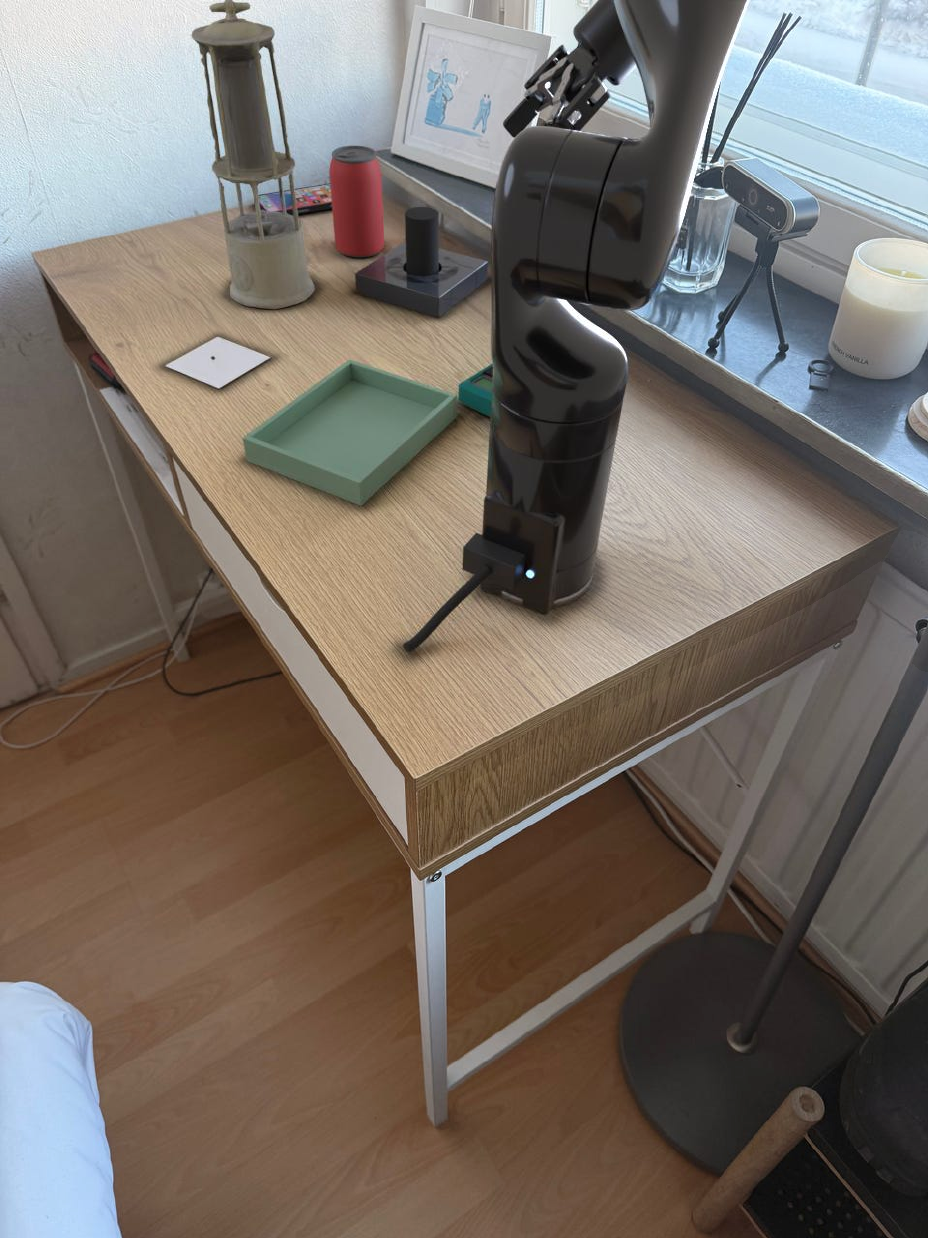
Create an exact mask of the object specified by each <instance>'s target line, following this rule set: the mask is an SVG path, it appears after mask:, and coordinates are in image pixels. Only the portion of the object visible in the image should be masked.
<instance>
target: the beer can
mask: <svg viewBox="0 0 928 1238" xmlns="http://www.w3.org/2000/svg"><path fill="white" fill-rule="evenodd" d="M377 155H378V154H377V152H376V150H374V149H373V148H371V147H369V146H365V145H343V146H340V147H337V148H335V149H334V150H333V151H332V152H331V156H332V157H331V161H330V164H329V169H328V171H329V172H328V173H329V183H330V186H331V199H332V208H331V211H332V223H333V234H334V245H335V249H336V250H337V251H338V252H339V253H340V254H343V255H344V256H347V257H350V258H369V257H373V256H375V255H377V254H378V253H380V252H382V250H384V249H383V248H384V247H385V229H384V228H385V227H384V204H383V181H382V180H383V178H382V170H381V166H380V165H381V164H380V162H379V160H378V157H377Z"/></svg>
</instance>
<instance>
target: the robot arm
mask: <svg viewBox="0 0 928 1238" xmlns="http://www.w3.org/2000/svg"><path fill="white" fill-rule="evenodd" d="M749 2H750V0H597V1H596V2H595V3H594V4H593V6H591V8H590V9H589V10H588V11H587V12H586V13H585V14H584V16H583V17H581V18H580V20H579V21H578V22H577V23H576V25H575V26H574V27H573V36H574V38H575V40H576V41H577V45H576V47H575V48H574V49H573V50H572V51H571V52H569V50H568V49H567V47H566V46H565V45H564V44H560V45H559V46H558V47H557V48H556V49H555V50H554V51H553V53H551V54H550V56H549V57H548V58H547V59H546V60H545V61H544V63H543V64H541V66H540V67H539V68H538V69H536V71H535V72H534V73H533V74H532V76H530V78H529V79H527V81H526V82H525V84H524V89H526V91H525V92H524V94H523V97H524V98H522V100H520V102H519V103H518V105H517V106H516V107H515V108H514V109H512V111H511V112H510V113H509V114H508V116H507V117H506V118H505V119H504V120H503V121H502V127H503V128H504V129H505V131H507V132H508V134H509V135H510V136H511V137H512V138H513V139H512V141H511V142H510V144H509V145H508V147H507V149H506V152H505V153H504V156H503V158H502V160H501V164H500V168H499V170H498V175H497V180H496V184H495V188H494V194H493V205H492V213H491V230H490V231H491V233H490V235H491V237H490V238H491V239H490V240H491V241H490V246H491V247H490V268H491V271H490V272H491V273H490V274H491V329H490V333H491V334H490V358H491V364H493V378H492V399H491V417H489V431H488V432H489V435H488V450H487V451H488V453H487V470H486V471H487V473H486V488H485V489H486V491H485V496H484V499H483V510H482V512H483V513H482V528H481V529H482V530H481V533H479V532H475V533H474V534H473V535H472V536H471V537H470V539H468V541H467V542H466V543H465V544H464V545H463V547H462V568H461V569H462V571H464V572H468V573H470V574H471V575H472V577H471V578H469V579H468V580H467V581H466V582H465V583H464V584H463V585H462V586H461V587H460V588H459V589H458V590H457V591H456V592H455V593H454V594H453V595H452V596H451V597H450V598H449V599H447V601H445V603H444V604H443V605H442V606H441V607H440V608H439V609H438V610H437V611H436V612H435V613H434V614H433V615H432V616H431V617H430V619H429V620H428V621H427V622H426V623H425V625H423V627H422V628H421V629H420V630H419V631H418V632H417V633H416V634H415V635H413V637H411V638H410V639H409V640H408V641H406V642H404V643H403V644H402V646H403V649H404V650H405V652H407V653H411V652H413V651H415V650H416V649H418V648H419V647H420V646H421V645H422V644H423V643H424V642H425V641H427V640H428V639H429V637H430V636H431V635H432V634H433V633H434V632H435V630H436V629H437V628H438V627H439V626H440V625H441V624H442V623H443V622H444V620H445V619H446V618H448V616H449V615H450V614H451V613H452V612H454V610H455V609H456V608H457V607H458V606H460V604H461V603H462V602H464V600H465V599H466V598H467V597H468V596H469V595H470V594H472V593H473V592H474V591H475V590H476V589H477V588H478V587H479V589H480V590H482V591H484V592H488V593H490V594H492V595H493V596H496V597H498V598H501V599H504V600H505V601H508V602H510V603H513V604H514V605H518V606H520V607H523V608H526V609H527V610H531V611H532V612H535V613H538V614H540V615H543V616H547V615H548V614H550V612H551V610H553V609H554V608H557V607H561V606H565V605H568V604H570V603H572V602H575V601H576V600H578V599H579V598H581V597H582V596H583V595H584V594H586V593H587V591H589V588H590V587H591V585H592V583H593V580H594V574H595V568H596V567H595V563H596V557H597V552H598V545H599V540H600V532H601V527H602V522H603V515H604V511H605V505H606V499H607V493H608V487H609V482H610V475H611V469H612V464H613V459H614V454H615V447H616V442H617V437H618V431H619V427H620V426H619V425H620V421H621V415H622V409H623V403H624V398H625V395H626V388H627V382H628V377H629V361H628V356H627V353H626V351H625V350H624V348H623V346H622V345H621V343H619V341H618V340H617V339H616V338H615V337H614V336H613V335H611V333H609V332H607V331H606V330H604V329H603V328H601V327H599V326H598V325H597V324H595V323H593V322H592V321H590V320H589V319H588V318H586V317H585V316H584V315H582V314H581V313H579V311H578V310H576V308H574V307H573V306H572V305H571V303H569V302H572V303H577V304H582V305H587V306H593V307H598V308H603V309H607V310H608V309H609V310H615V311H625V312H627V311H628V312H629V311H631V312H633V311H636V310H639V309H642V308H643V307H645V306H646V305H647V304H648V303H650V302H651V301H652V299H653V298H654V296H655V295H656V294H657V293H658V291H659V289H660V286H661V285H662V283H663V282H664V279H665V276H666V274H667V272H668V270H669V268H670V264H671V262H672V259H673V256H674V254H675V250H676V246H677V243H678V239H679V235H680V232H681V228H682V225H683V221H684V218H685V214H686V210H687V206H688V203H689V199H690V196H691V191H692V187H693V183H694V179H695V176H696V172H697V169H698V168H697V167H698V165H699V160H700V157H701V152H702V148H703V144H704V142H705V136H706V133H707V129H708V125H709V121H710V117H711V114H712V112H713V111H712V110H713V107H714V103H715V101H716V100H715V99H716V96H717V93H718V89H719V86H720V83H721V80H722V78H723V77H722V76H723V73H724V70H725V67H726V64H727V62H728V59H729V57H730V53H731V50H732V48H733V45H734V42H735V40H736V37H737V34H738V31H739V28H740V26H741V23H742V21H743V18H744V15H745V12H746V10H747V7H748V4H749ZM636 68H637V71H638V75H639V77H640V80H641V83H642V87H643V91H644V95H645V100H646V105H647V111H648V112H647V113H648V120H649V130H648V131H647V133H645V135H644V136H642V137H640V138H630V137H628V138H627V137H624V136H617V135H612V134H611V135H609V134H604V133H597V132H589V131H584V130H583V131H582V129H584V127H585V126H586V125H588V123H589V122H590V120H591V119H592V118H593V117H594V116H595V115H596V114H597V113H598V111H599V110H600V109H601V108H602V107H603V106H604V105H605V104H606V103H607V102H608V101H609V99H610V98H611V96H612V94H611V92H610V90H609V89H608V87H607V86H606V84H605V81H606V80H607V81H608V82H609V83H610V84H611V85H612V86H619V85H620V84H622V82H623V81H624V80H625V79H626V78H627V77H628V76H629V75H630V74H631V73H632V72H633V71H634V70H635V69H636ZM550 106H551V107H552V108H551V110H550V112H549V114H548V116H547V118H546V121H543V122H542V123H541V124H540V125H532V126H529V125H530V123H531V122H533V120H534V119H535V118H536V117H537V116H538V113H540V112H542V111H543V110H545V109H546V108H548V107H550ZM528 126H529V127H528Z"/></svg>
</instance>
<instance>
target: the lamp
mask: <svg viewBox="0 0 928 1238" xmlns="http://www.w3.org/2000/svg"><path fill="white" fill-rule="evenodd" d="M250 9H251V4H250V3H249V2H246V1H245V2H239V1H237V2H236V1H234V0H224V1H223V2H215V3H212V4H210V5H209V10H210V12H211V13H225V14H226V15H225V17H224V18H222V19H218V20H215V21H213V22H211V23H210V24H206V25H203V26H199V27H197V28H194V29H193V30H192V32H191V38H192V40H194V41H195V43H197V45H198V49H199V53H200V55H201V57H202V58H201V60H200V61H201V64H202V65H203V71H204V72H203V73H204V78H205V79H204V80H205V84H206V92H207V95H206V97H207V98H206V102H207V103H206V105H207V107H208V114H209V125H210V131H211V136H212V138H213V141H214V151H215V152H214V159H215V160H214V162H213V163H212V164H211V171H212V172H213V173H214V174H215V176H216V178H217V183H218V190H219V200H220V210H221V214H222V215H221V216H222V221H223V228H224V229H223V232H224V239H225V244H226V245H225V246H226V250H227V258H228V263H229V264H228V265H229V271H230V277H231V283H230V285H229V296H230V298H231V299H232V300H234V301H235V302H237V303H238V304H240V305H243V306H246V307H250V308H259V309H270V310H277V309H284V308H286V307H290V306H295V305H297V304H300V303H302V302H305V301H306V300H308V298H310V297H311V296H312V295H313V293H314V291H315V290H316V287H315V285H314V281H313V280H312V277H311V276H310V273H309V264H308V258H307V253H306V252H307V251H306V245H305V239H304V228H303V224H302V221H301V220H300V218H299V214H298V211H297V203H296V195H295V189H296V188H295V181H294V175H293V173H294V169H295V167H296V160H295V159H294V158H293V157H292V156H291V151H290V146H289V143H288V133H287V124H286V123H287V122H286V115H285V109H284V108H285V107H284V103H283V102H284V101H283V96H282V92H281V89H280V85H279V84H280V83H279V78H278V74H277V68H276V60H275V55H274V53H275V48H274V43H273V39H274V37H275V33H276V32H275V29H274V28H273V27H272V26H269V25H266V24H262V23H258V22H254V21H249V20H247V19H245V18H238V16H237V14H239V13H242V12H245V11H249V10H250ZM263 48H265V49H267V51H268V55H269V60H270V65H271V71H272V78H273V82H274V88H275V94H276V100H277V107H278V112H279V118H280V126H281V132H282V140H283V145H284V153H283V152H281V151H276V149H275V144H274V139H273V134H272V133H273V132H272V124H271V119H270V112H269V106H268V100H267V95H266V86H265V81H264V77H263V68H262V67H263V66H262V62H261V60H262V54H261V53H260V51H261V49H263ZM207 54H209V56H210V61H211V67H212V73H213V83H214V92H215V98H216V104H217V112H218V119H219V125H220V131H221V136H222V142H223V147H224V148H223V149H224V155H223V156H221V150H220V143H219V142H220V141H219V135H218V128H217V121H216V115H215V114H216V113H215V108H214V100H213V96H212V91H211V83H210V82H211V81H210V74H209V68H208V56H207ZM283 177H288V182H289V190H290V191H291V199H292V209H293V215H289V214H287V213H286V208H285V197H284V191H285V190H284V184H283V183H284V182H283V179H282V178H283ZM221 179H223V180H225V181H228V182H229V183H232V184H234V185H235V189H236V195H237V196H236V197H237V203H238V208H239V209H238V210H239V215H238V216H236V217H234V218H232V219H230V220H229V217H228V216H229V215H228V210H227V209H228V208H227V204H226V197H225V185H223V182H222V181H221ZM271 180H275V181H276V180H277V182H278V183H277V184H278V192H279V191H280V198H281V207H282V212H273V211H265V210H260V204H259V196H258V195H259V188H258V186H259V184H260V185H261V184H263V183H265V182H269V181H271ZM241 184H244V185H249V186H250V188H251V191H252V195H253V202H254V201H255V203H254V207H255V211H253V212H248V213H245V212H244V204H243V203H244V201H243V195H242V194H243V193H242V189H241Z"/></svg>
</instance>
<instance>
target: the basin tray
mask: <svg viewBox="0 0 928 1238" xmlns="http://www.w3.org/2000/svg"><path fill="white" fill-rule="evenodd" d="M457 417H458V394H456V393H453V392H450V391H447V390H444V389H440V388H438V387H435V386H432V385H429V384H425V383H422V382H420V381H416V380H413V379H411V378H408V377H404V376H401V375H398V374H396V373H393V372H389V371H386V370H383V369H380V368H377V367H374V366H371V365H368V364H365V363H362V362H359V361H357V360H353V359H347V360H346V361H345V362H343V363H342V364H341V365H339V366H337V367H336V368H335V369H334V370H332V371H331V372H330V373H329V374H327V375H325V376H324V377H323V378H321V379H320V380H319V381H318V382H316V383H315V384H314V385H312V386H311V387H310V388H308V389H307V390H306V391H304V392H303V393H301V394H300V395H299V396H297V397H296V398H295V399H293V400H292V401H291V402H289V403H288V404H287V405H285V406H284V407H282V408H281V409H280V410H278V411H277V412H276V413H274V414H273V415H272V416H270V417H269V418H268V419H266V420H265V421H264V422H262V423H261V424H260V425H258V426H257V427H255V428H254V429H253V430H251V431H250V432H249V433H247V434H246V435H245V436H243V437H242V443H243V447H244V454H245V460H246V461H247V462H248V463H250V464H254V465H256V466H259V467H261V468H263V469H266V470H269V471H271V472H274V473H277V474H279V475H282V476H283V477H287V478H289V479H291V480H294V481H297V482H299V483H301V484H304V485H306V486H309V487H312V488H314V489H317V490H319V491H322V492H324V493H327V494H329V495H332V496H334V497H337V498H340V499H343V500H344V501H347V502H350V503H352V504H355V505H357V506H360V507H362V506H364V504H366V503H367V502H368V501H369V500H370V499H371V498H372V497H373V496H374V495H375V494H376V493H377V492H378V491H380V489H382V487H384V486H385V485H386V484H387V483H388V482H389V481H390V480H391V479H392V478H393V477H394V476H396V474H397V473H399V472H400V471H401V470H402V469H403V468H404V467H405V466H406V465H407V464H408V463H409V462H411V460H413V459H414V458H415V457H416V456H417V455H418V454H419V453H420V452H421V451H423V449H424V448H425V447H427V445H429V444H430V443H431V442H432V441H433V440H434V439H435V438H436V437H437V436H439V435H440V433H441V432H443V431H444V430H445V429H446V428H447V427H448V426H449V425H450V424H451V423H452V422H453V421H454V420H455V419H457Z"/></svg>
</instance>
